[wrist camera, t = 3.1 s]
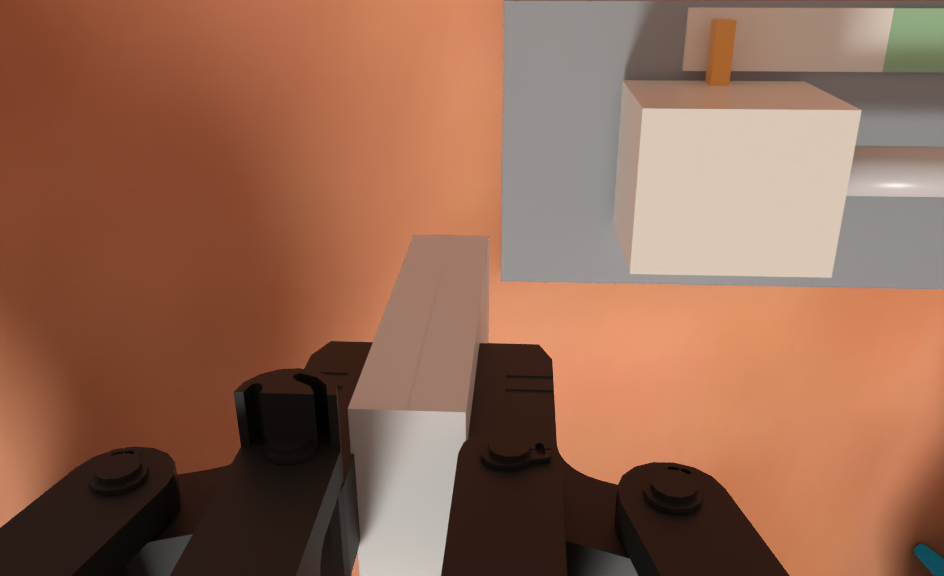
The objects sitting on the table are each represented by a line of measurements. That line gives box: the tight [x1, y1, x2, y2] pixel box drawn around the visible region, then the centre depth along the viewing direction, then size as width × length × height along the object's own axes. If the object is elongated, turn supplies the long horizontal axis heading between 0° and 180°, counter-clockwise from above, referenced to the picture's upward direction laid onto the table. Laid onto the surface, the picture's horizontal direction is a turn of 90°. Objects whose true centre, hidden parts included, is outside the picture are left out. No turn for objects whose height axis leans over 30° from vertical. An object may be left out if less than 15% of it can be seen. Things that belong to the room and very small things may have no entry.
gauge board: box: [501, 0, 944, 289], centre depth 26 cm, size 28×10×7 cm, turn 90°
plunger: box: [613, 18, 944, 278], centre depth 26 cm, size 14×7×5 cm, turn 90°
